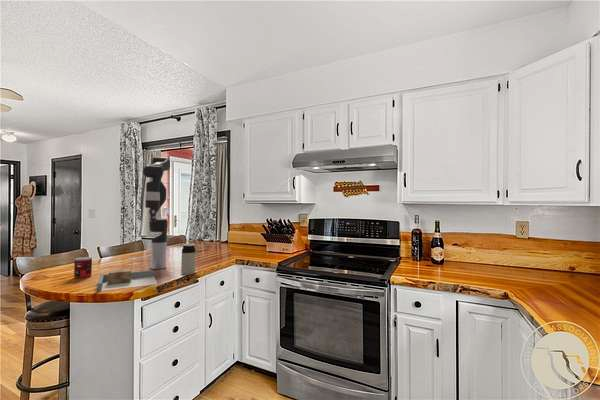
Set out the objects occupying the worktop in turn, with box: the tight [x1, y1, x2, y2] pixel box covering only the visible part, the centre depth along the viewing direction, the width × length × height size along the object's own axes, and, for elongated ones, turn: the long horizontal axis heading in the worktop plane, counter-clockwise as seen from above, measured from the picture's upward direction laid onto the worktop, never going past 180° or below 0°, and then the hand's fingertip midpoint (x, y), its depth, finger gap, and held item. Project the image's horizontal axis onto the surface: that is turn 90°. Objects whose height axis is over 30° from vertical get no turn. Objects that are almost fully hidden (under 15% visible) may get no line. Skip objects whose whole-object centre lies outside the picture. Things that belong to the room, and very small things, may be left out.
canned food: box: [73, 256, 93, 280], centre depth 163 cm, size 8×8×11 cm
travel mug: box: [180, 243, 196, 276], centre depth 177 cm, size 8×8×18 cm
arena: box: [97, 269, 158, 292], centre depth 152 cm, size 20×26×4 cm
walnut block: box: [108, 269, 132, 285], centre depth 151 cm, size 10×5×6 cm, turn 122°
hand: (152, 227), depth 166 cm, fingers open, 8 cm apart
